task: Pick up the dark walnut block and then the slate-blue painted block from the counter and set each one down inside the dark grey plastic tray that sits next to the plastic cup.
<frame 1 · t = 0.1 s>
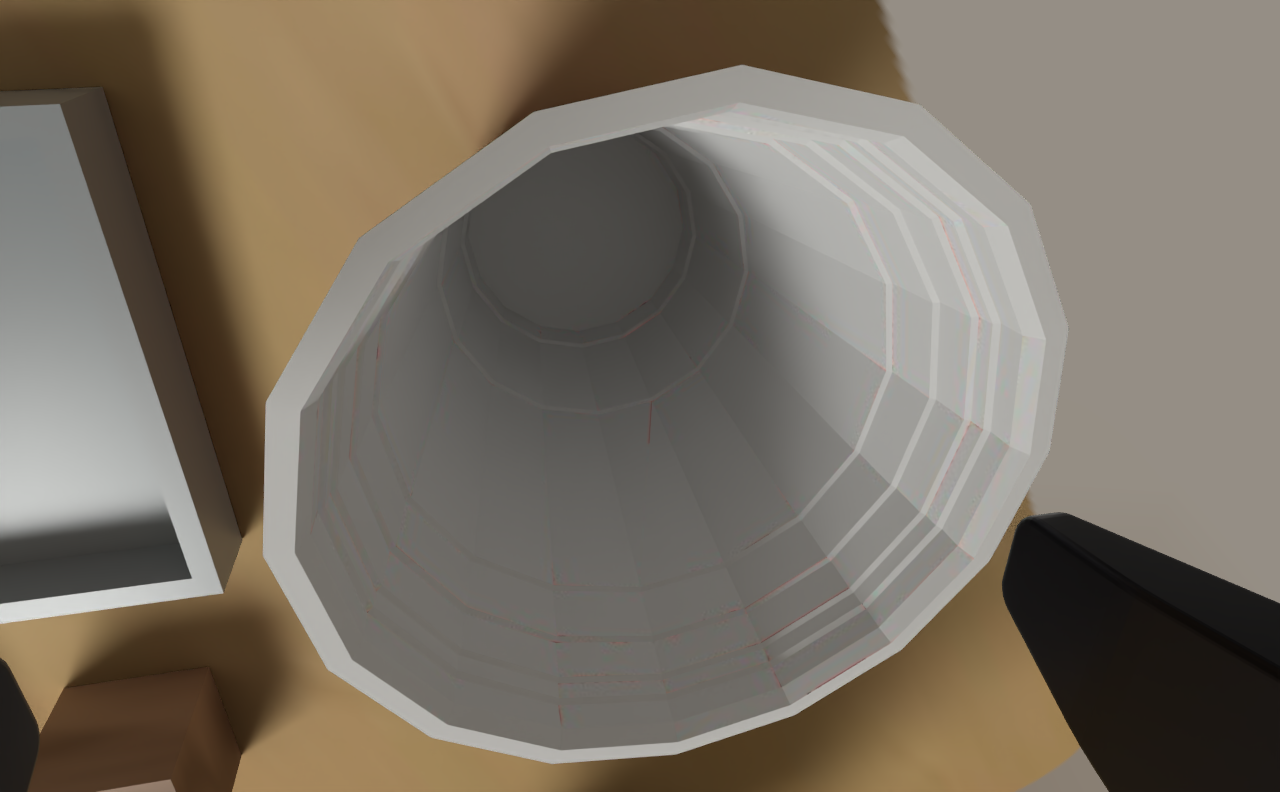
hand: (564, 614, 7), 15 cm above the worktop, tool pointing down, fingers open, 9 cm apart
walnut block: (157, 721, 26), on the worktop
plastic cup: (582, 233, 21), on the worktop
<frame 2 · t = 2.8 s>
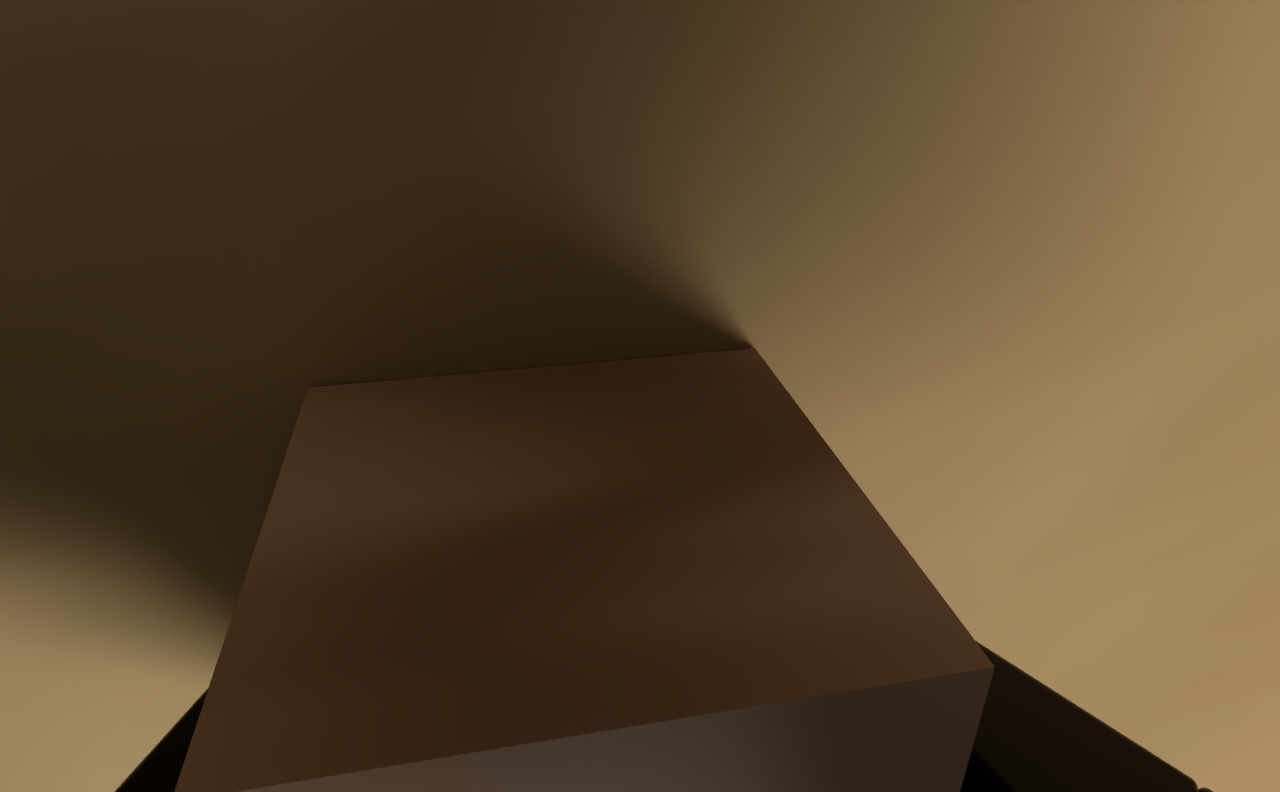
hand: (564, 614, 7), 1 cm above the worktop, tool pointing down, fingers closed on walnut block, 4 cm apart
walnut block: (552, 543, 8), on the worktop, touching gripper
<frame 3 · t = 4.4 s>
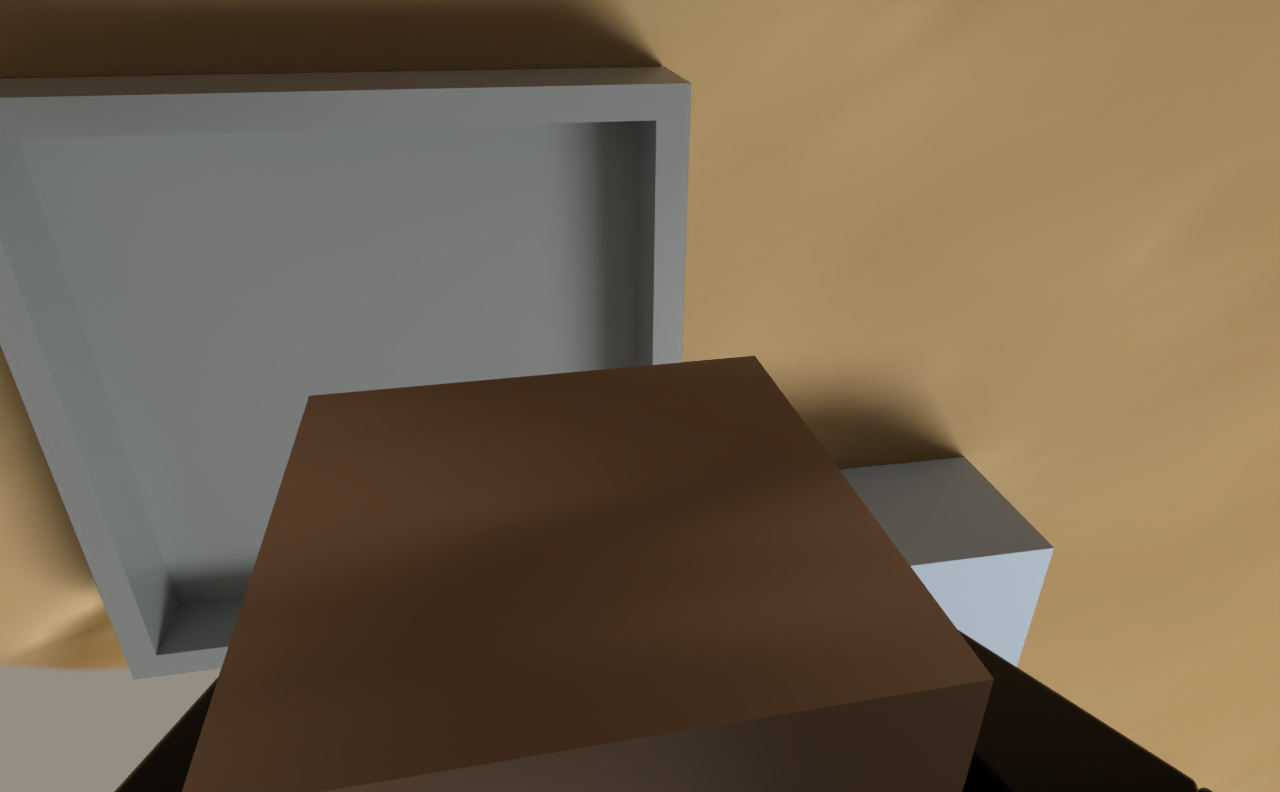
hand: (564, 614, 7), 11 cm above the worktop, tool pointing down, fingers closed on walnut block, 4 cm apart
tray: (388, 366, 18), on the worktop
walnut block: (553, 550, 8), point 10 cm above the worktop, touching gripper
slate block: (882, 522, 23), on the worktop
when the fingers open (3 cm above the worktop, at t = 6.2 s): walnut block drops 1 cm, resting on tray.
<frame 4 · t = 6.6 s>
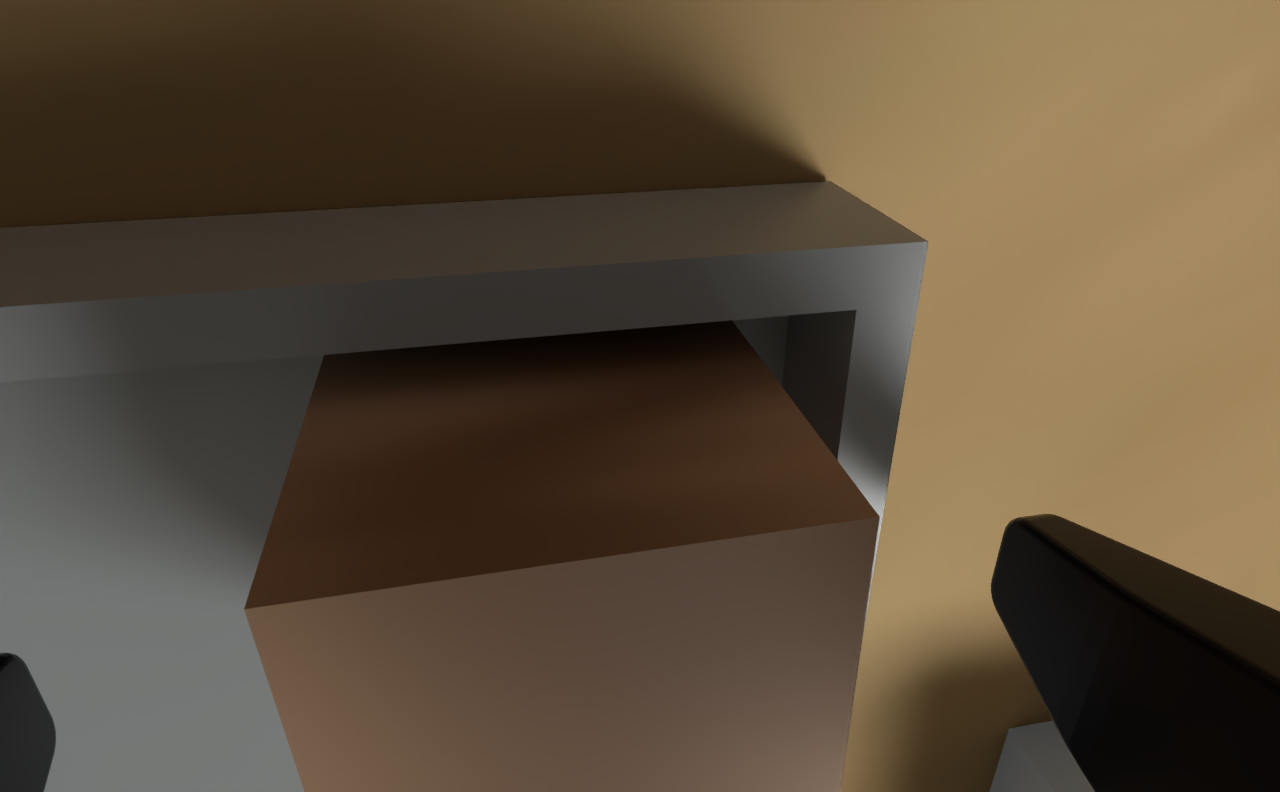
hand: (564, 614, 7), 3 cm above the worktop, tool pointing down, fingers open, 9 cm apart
tray: (360, 655, 11), on the worktop
walnut block: (544, 475, 10), point 1 cm above the worktop, touching tray
slate block: (1077, 779, 16), on the worktop
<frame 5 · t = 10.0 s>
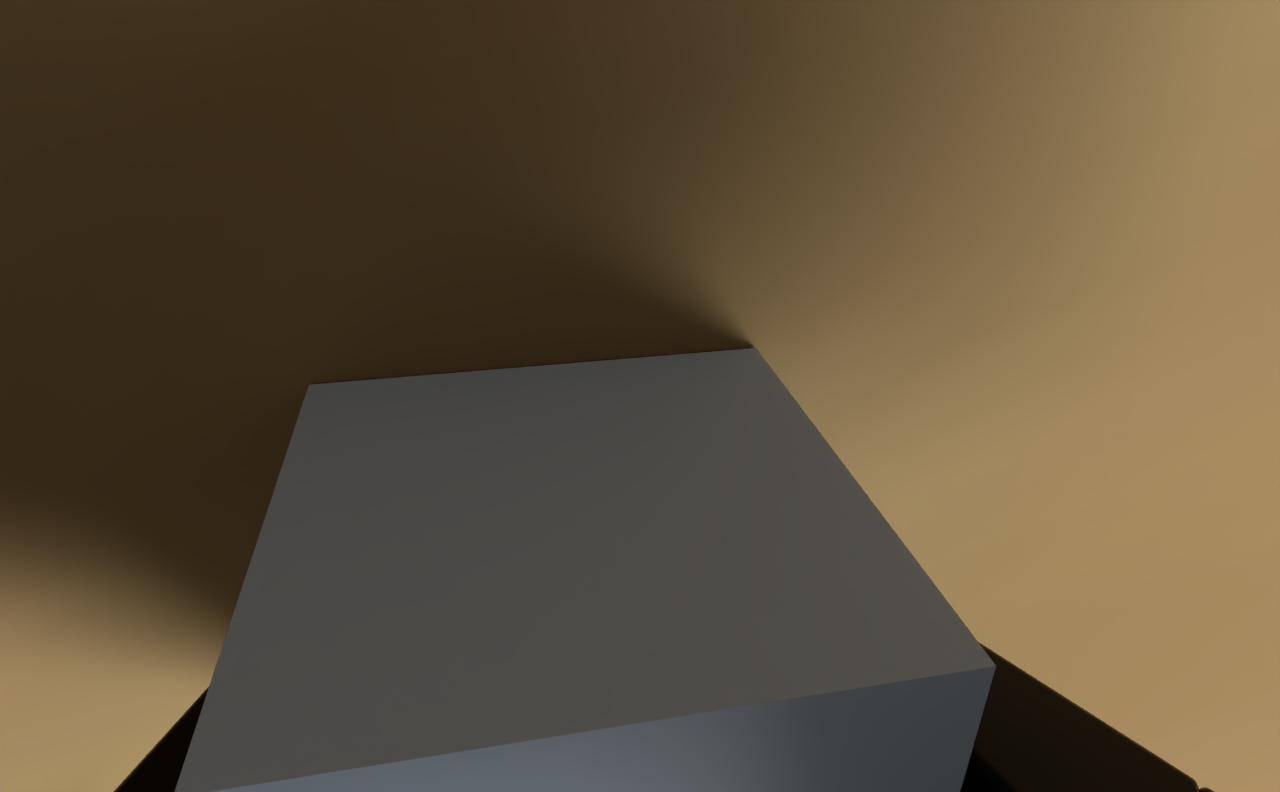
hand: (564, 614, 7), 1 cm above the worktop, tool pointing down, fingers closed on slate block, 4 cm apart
slate block: (552, 542, 8), on the worktop, touching gripper
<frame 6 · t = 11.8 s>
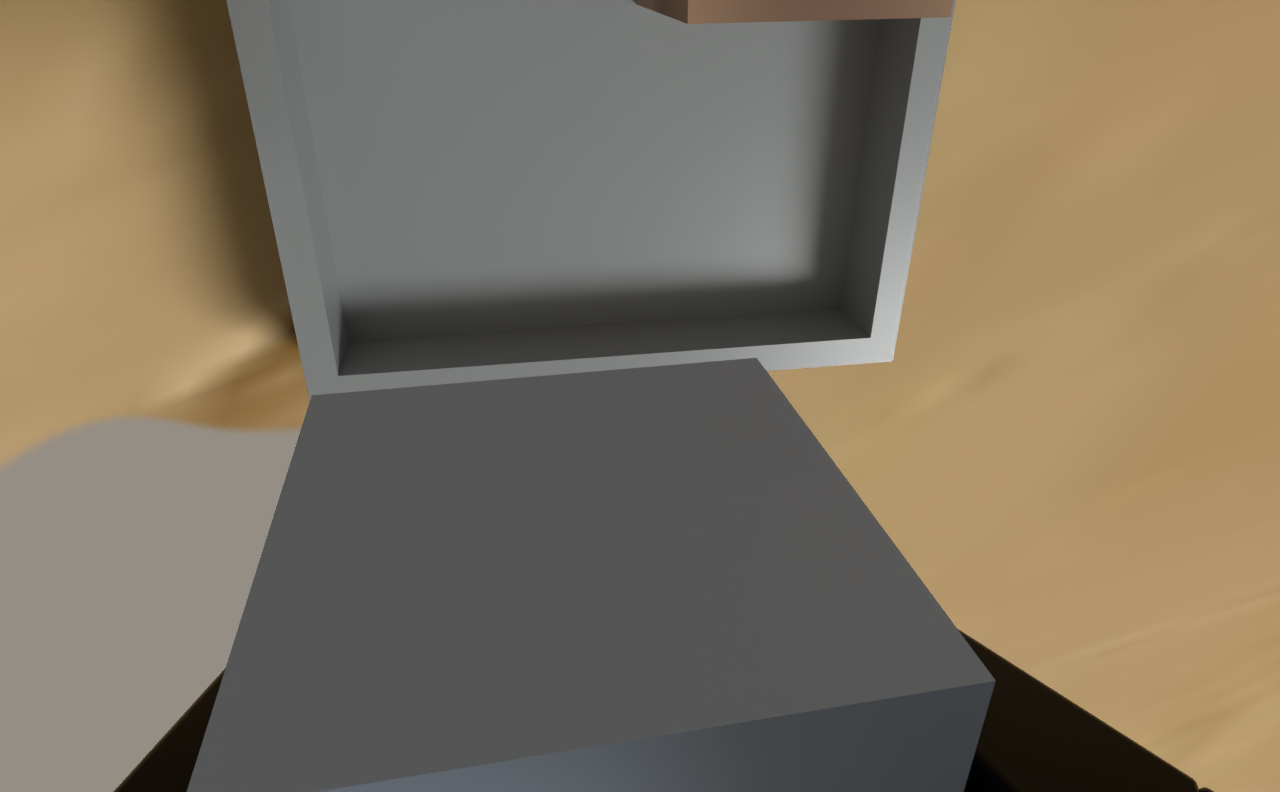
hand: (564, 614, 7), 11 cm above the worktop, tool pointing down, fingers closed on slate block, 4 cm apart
tray: (599, 53, 16), on the worktop
slate block: (554, 551, 8), point 10 cm above the worktop, touching gripper
when the fingers open (3 cm above the worktop, at t = 13.7 s): slate block drops 1 cm, resting on tray.
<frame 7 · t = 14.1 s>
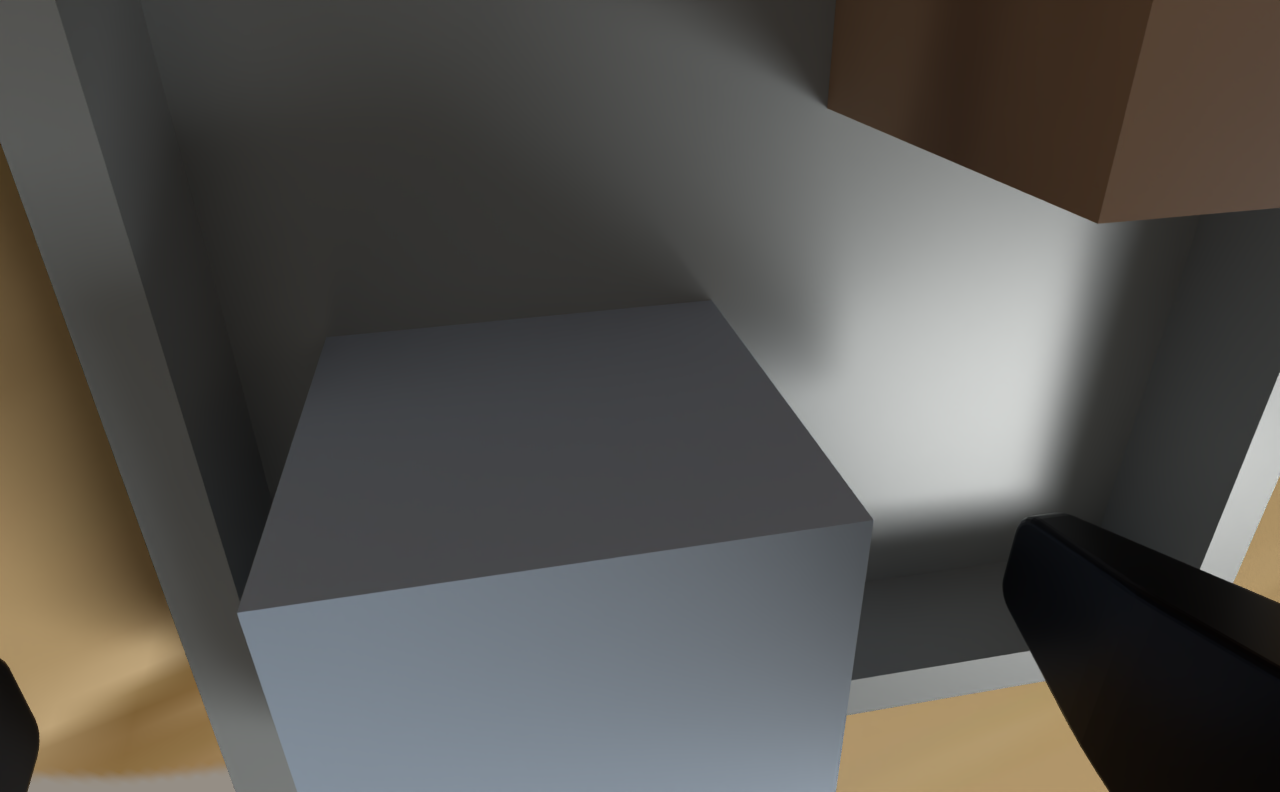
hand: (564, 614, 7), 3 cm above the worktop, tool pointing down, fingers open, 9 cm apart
tray: (744, 186, 9), on the worktop
slate block: (541, 477, 10), point 1 cm above the worktop, touching tray
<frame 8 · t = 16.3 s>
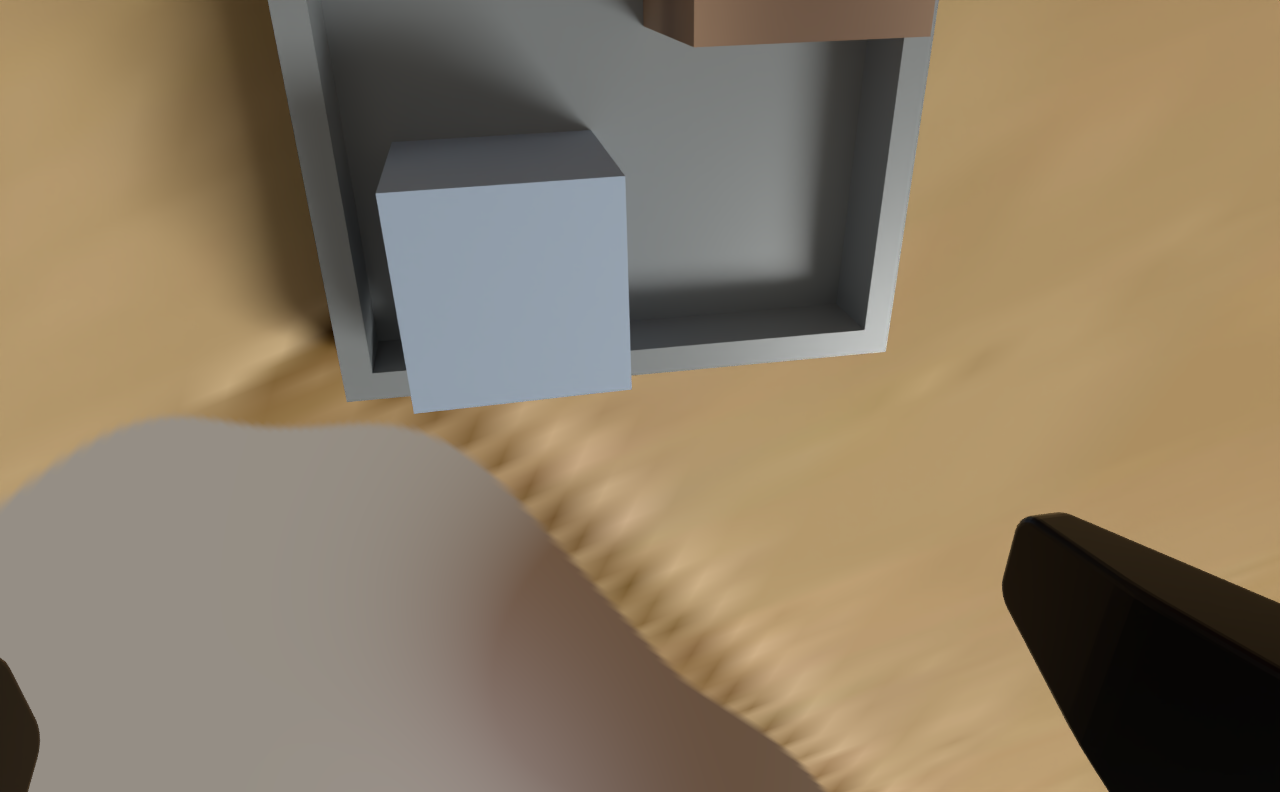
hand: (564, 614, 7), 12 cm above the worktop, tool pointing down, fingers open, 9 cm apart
tray: (608, 71, 17), on the worktop
slate block: (503, 231, 18), point 1 cm above the worktop, touching tray
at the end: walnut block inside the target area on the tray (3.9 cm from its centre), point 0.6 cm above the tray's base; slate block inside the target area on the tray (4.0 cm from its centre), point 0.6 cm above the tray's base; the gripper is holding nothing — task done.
